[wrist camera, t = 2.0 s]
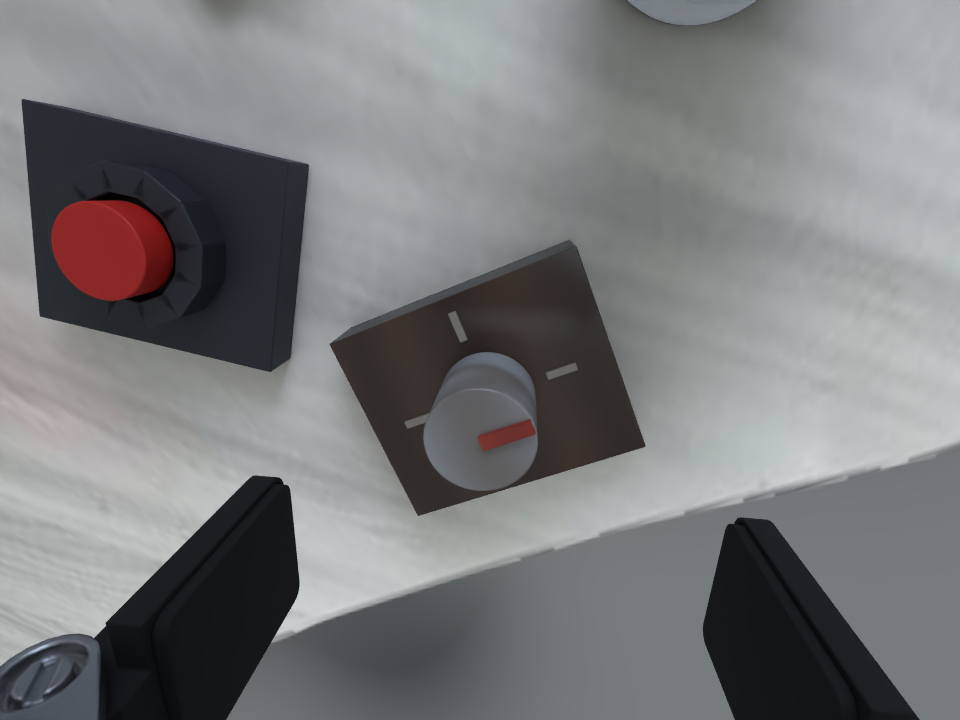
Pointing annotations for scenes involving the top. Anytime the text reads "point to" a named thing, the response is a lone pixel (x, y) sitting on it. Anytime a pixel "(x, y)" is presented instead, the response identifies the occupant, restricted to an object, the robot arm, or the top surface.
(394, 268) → the top surface
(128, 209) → the button
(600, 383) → the dial panel
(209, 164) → the button block
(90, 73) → the top surface
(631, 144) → the top surface
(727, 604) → the robot arm
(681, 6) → the jar
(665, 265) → the top surface
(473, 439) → the dial
